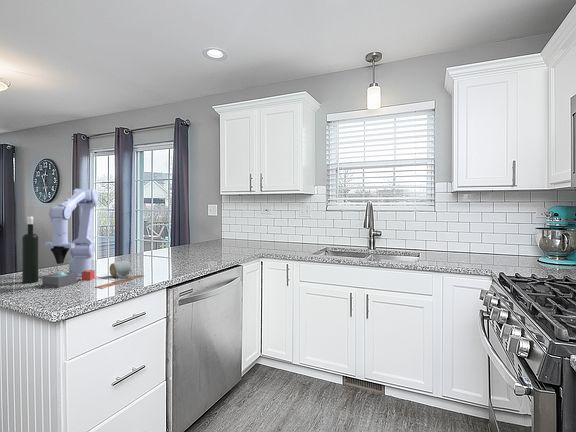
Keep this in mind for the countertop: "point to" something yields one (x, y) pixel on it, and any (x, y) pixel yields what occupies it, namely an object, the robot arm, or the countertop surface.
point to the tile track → (119, 281)
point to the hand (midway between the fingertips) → (60, 263)
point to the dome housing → (59, 280)
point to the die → (88, 274)
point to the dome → (59, 274)
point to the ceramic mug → (120, 269)
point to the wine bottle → (30, 255)
